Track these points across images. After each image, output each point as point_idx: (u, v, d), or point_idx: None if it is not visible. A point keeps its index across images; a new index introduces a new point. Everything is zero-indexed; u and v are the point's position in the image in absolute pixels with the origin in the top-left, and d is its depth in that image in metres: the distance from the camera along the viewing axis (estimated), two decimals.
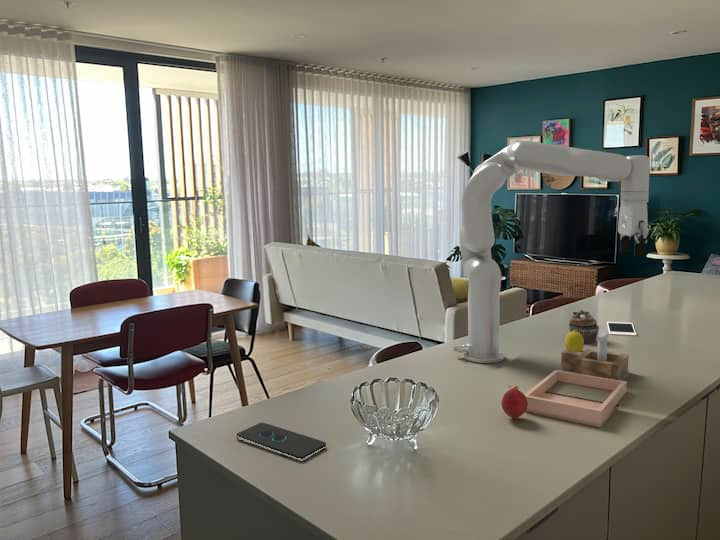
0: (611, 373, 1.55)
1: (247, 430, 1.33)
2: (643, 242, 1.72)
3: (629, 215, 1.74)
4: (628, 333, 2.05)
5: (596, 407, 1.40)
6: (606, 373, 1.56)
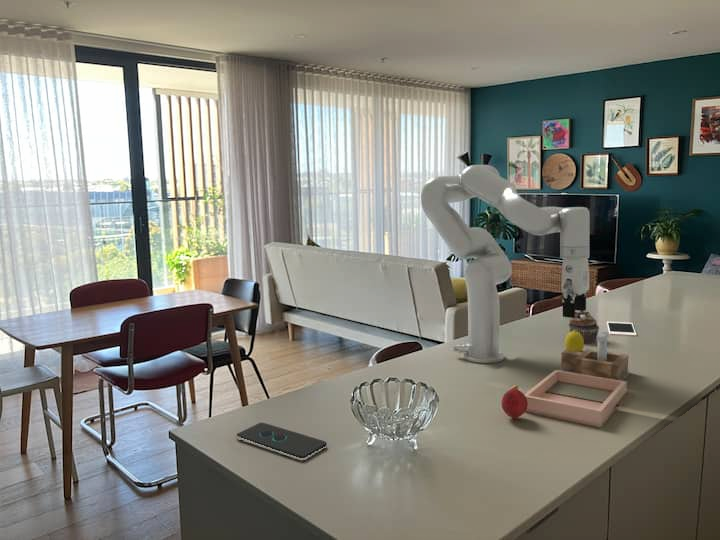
0: (611, 373, 1.55)
1: (247, 430, 1.33)
2: None
3: (588, 269, 1.63)
4: (628, 333, 2.05)
5: (596, 407, 1.40)
6: (606, 373, 1.56)
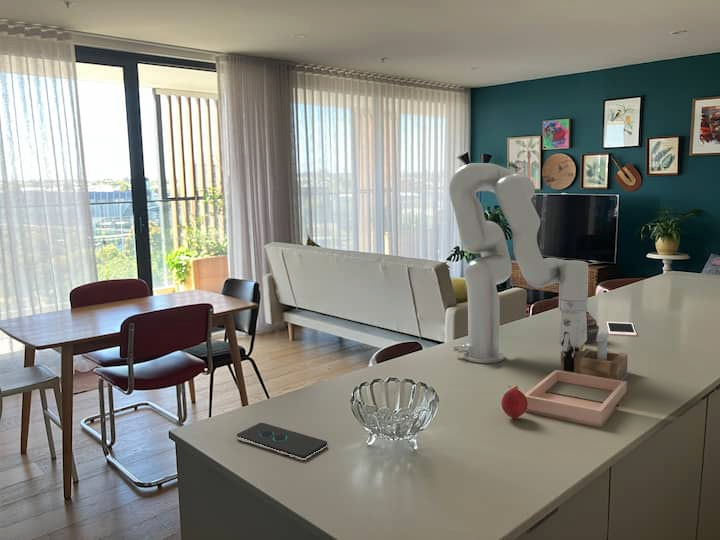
0: (610, 371, 1.55)
1: (247, 430, 1.33)
2: None
3: (586, 321, 1.66)
4: (628, 333, 2.05)
5: (596, 407, 1.40)
6: (605, 372, 1.56)
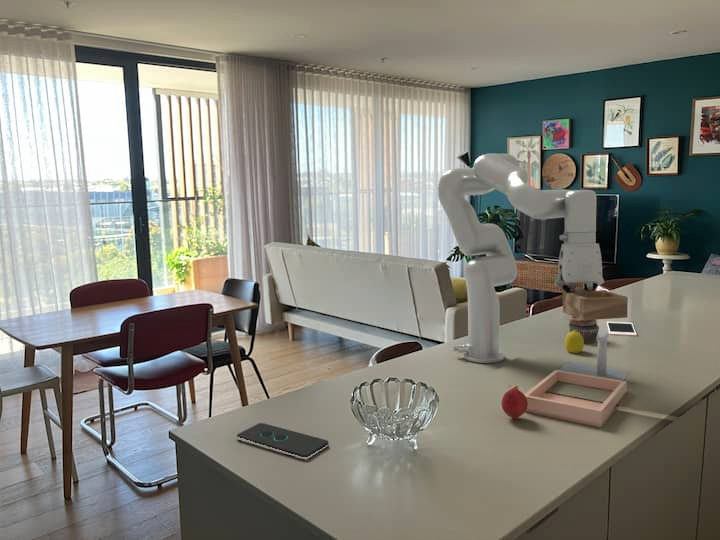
0: (580, 308, 1.41)
1: (247, 431, 1.32)
2: None
3: (596, 258, 1.50)
4: (628, 333, 2.05)
5: (596, 407, 1.40)
6: (577, 308, 1.43)
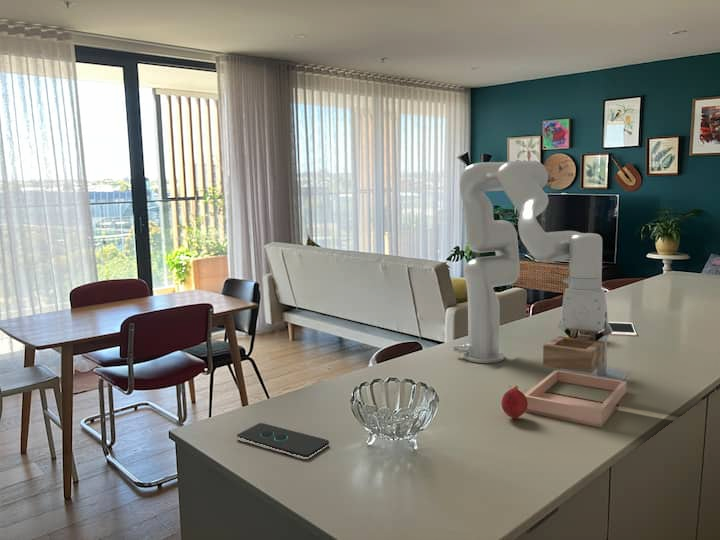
0: None
1: (247, 431, 1.32)
2: None
3: (595, 307, 1.42)
4: (628, 333, 2.05)
5: (596, 407, 1.40)
6: None
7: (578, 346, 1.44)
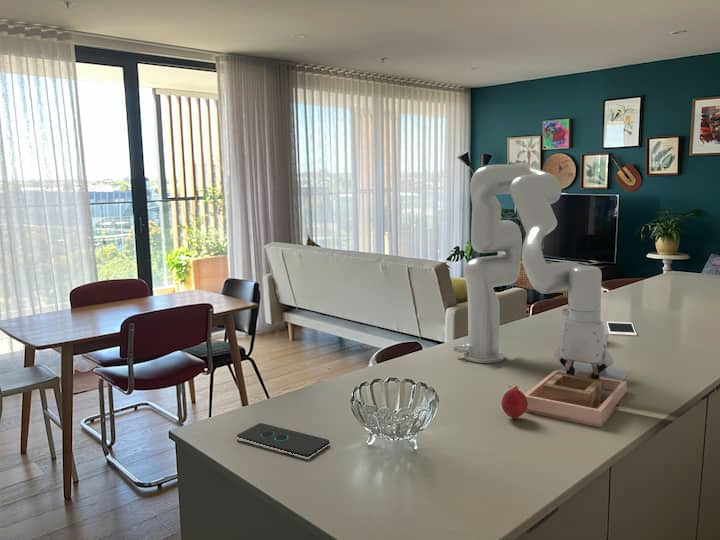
0: None
1: (247, 431, 1.32)
2: None
3: (593, 339, 1.43)
4: (628, 333, 2.05)
5: (596, 407, 1.40)
6: None
7: (577, 384, 1.46)
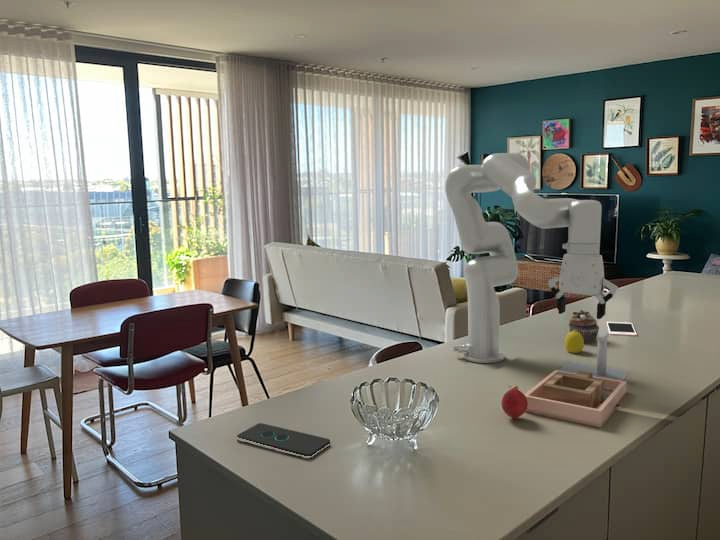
0: None
1: (247, 431, 1.32)
2: None
3: (592, 272, 1.46)
4: (628, 333, 2.05)
5: (596, 407, 1.40)
6: None
7: (577, 384, 1.46)
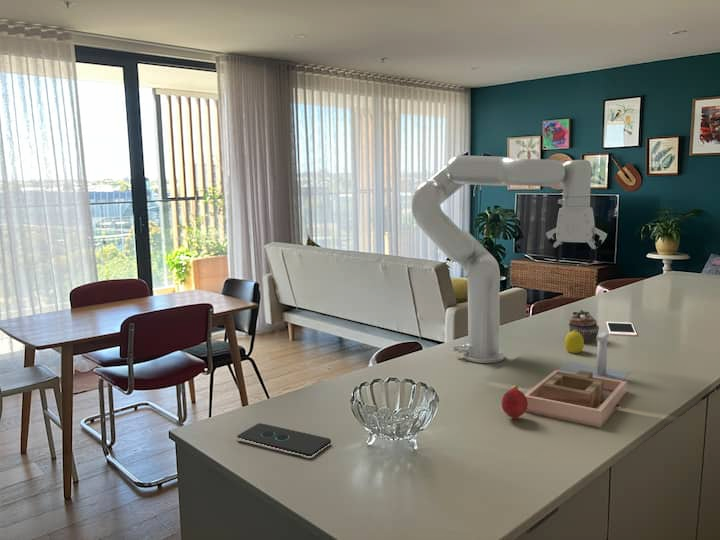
0: None
1: (247, 431, 1.32)
2: (597, 247, 1.70)
3: (584, 221, 1.69)
4: (628, 333, 2.05)
5: (596, 407, 1.40)
6: None
7: (577, 384, 1.46)
